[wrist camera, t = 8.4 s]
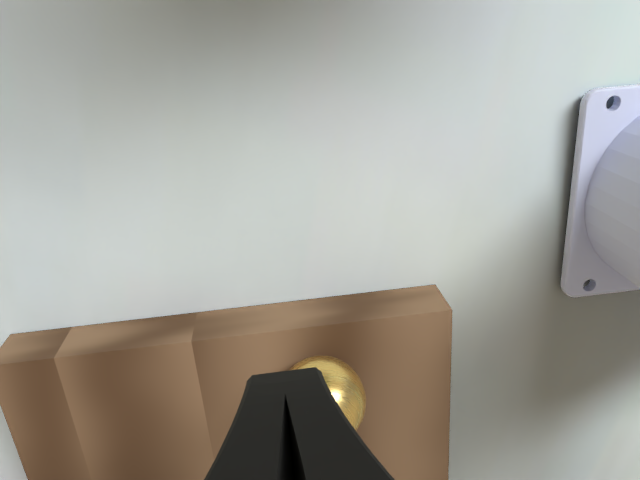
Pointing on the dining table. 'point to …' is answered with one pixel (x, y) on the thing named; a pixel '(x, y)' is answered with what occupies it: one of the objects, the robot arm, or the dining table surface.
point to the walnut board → (223, 384)
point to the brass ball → (340, 385)
